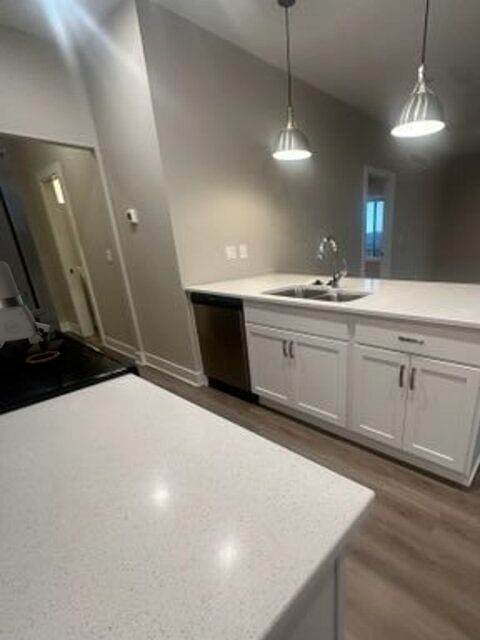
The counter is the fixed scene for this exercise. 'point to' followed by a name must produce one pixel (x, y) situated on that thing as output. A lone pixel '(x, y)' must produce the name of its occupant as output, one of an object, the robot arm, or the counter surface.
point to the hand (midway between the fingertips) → (27, 354)
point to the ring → (42, 359)
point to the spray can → (24, 298)
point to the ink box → (44, 320)
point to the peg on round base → (51, 344)
